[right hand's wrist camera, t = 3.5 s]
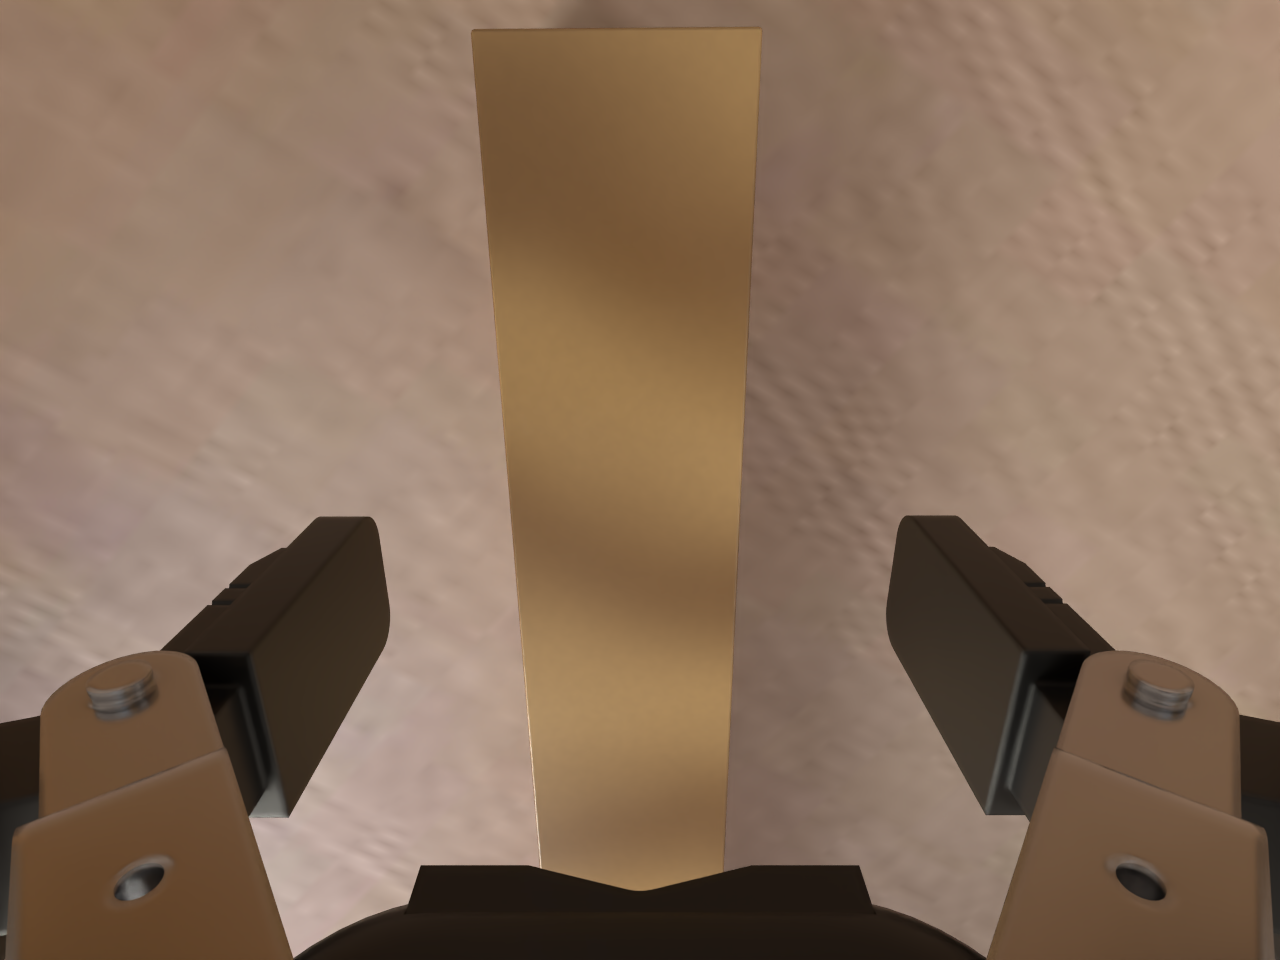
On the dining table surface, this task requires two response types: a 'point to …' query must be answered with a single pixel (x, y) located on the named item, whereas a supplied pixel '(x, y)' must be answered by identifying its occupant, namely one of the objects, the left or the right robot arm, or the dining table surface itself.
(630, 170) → the bar
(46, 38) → the dining table surface
